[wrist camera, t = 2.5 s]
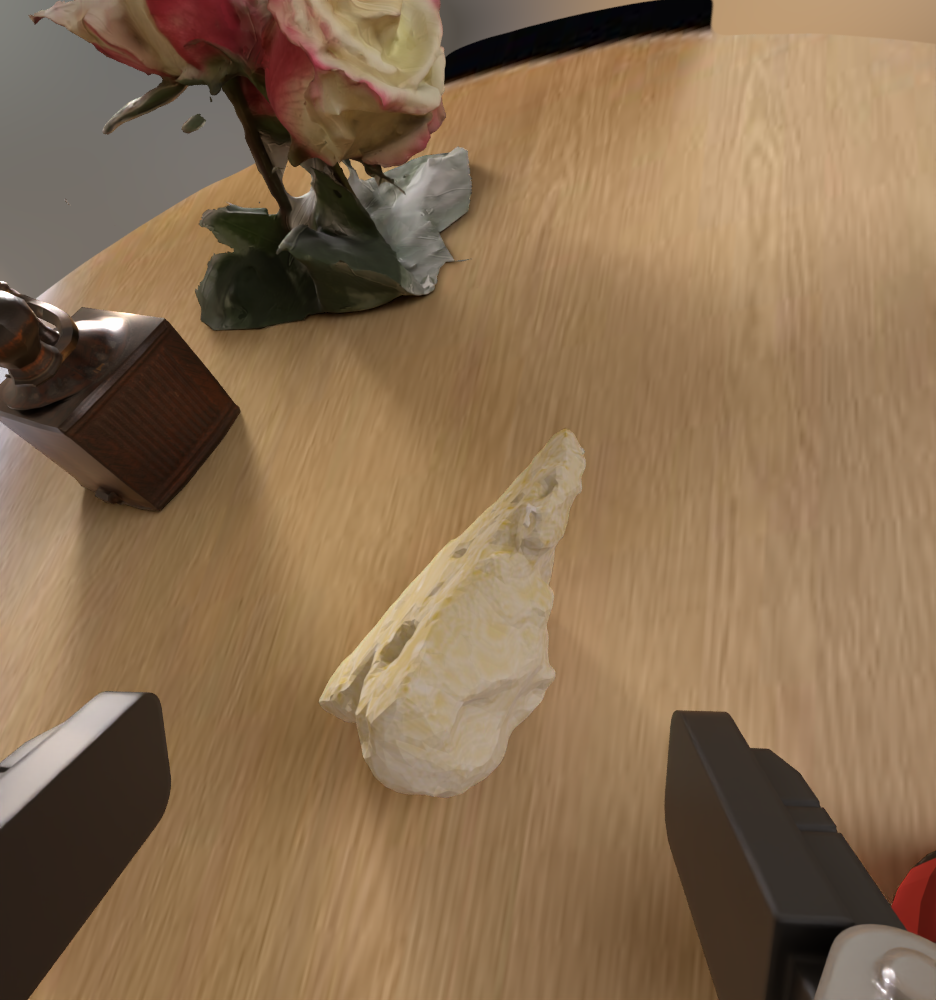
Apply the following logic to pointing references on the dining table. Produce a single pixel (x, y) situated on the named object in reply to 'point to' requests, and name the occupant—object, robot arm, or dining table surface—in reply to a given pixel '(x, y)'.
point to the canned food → (918, 899)
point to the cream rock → (464, 641)
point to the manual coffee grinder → (109, 398)
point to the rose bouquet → (305, 141)
